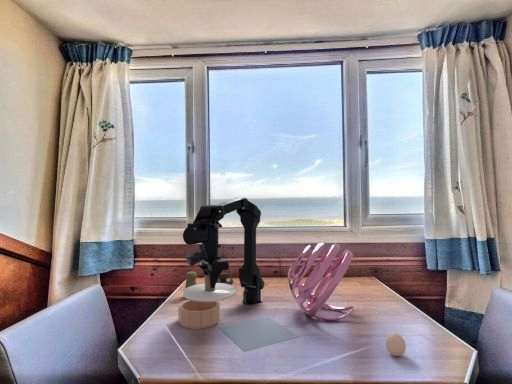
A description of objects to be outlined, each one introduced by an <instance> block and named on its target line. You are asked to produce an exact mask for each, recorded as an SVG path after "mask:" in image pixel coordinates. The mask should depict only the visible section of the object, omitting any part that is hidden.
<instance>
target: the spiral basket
mask: <svg viewBox="0 0 512 384" xmlns="http://www.w3.org/2000/svg"><path fill="white" fill-rule="evenodd" d="M325 245H326V242H325V241H320V242H318V243H317V244H316V245H315V246H314V248H313V250H312V251H311V252H310V254H309V255H308V257H307V258H306V260H305V261H304V263H303V264H302V266H301V267H300V269H299V270H298V271H297V273H296V274H295V271H296V269H297V268H298V266H299V265H300V263H301V262H302V261H303V259H304V257H305V255H306V254H307V253H308V251H309V250H310V248H311V247H312V245H311V244H308V245H307V246H305V247H304V249H303V250H302V252H301V253H299V256H298V258H297V259H296V260H295V262H291V264H290V265H289V268H288V273H287V279H288V290H289V293H290V295H291V296H292V299H293V300H294V303H295V304H296V306H297V307H298V308H300V309H301V310H302V311H303V312H304V313H305V314H306V315H308V316H309V317H312V318H315V319H318V320H319V321H320V320H321V321H326V322H335V321H340V320H343V319H346V318H347V317H349V316H350V315H352V314H353V312H354V311H355V309H354V308H355V307H354V306H353V305H352V306H346V307H341V306H340V307H339V306H335V305H331V304H327V303H326V302H327V301H328V300H329V298H331V295H332V294H333V293H334V292H335V290H336V289H337V287H338V285H340V282H341V280H342V279H343V277H344V275H346V272H347V270H348V269H349V267H350V264H351V262H352V259H353V257H354V254H353V253H352V251H350V250H349V249H345V250H344V251H343V252H342V253H341V254H340V255H339V256H338V258H336V256H337V254H338V252H339V250H340V248H341V246H340V244H338V243H335V242H334V243H332V244H331V245H330V246H329V247H328V248H327V250H326V251H325V253H323V255H322V256H321V258H320V259H319V260H318V262H317V263H316V265H315V266H314V268H313V269H312V271H310V274H309V275H308V276H307V278H306V280H305V281H304V282H303V284H301V281H302V280H303V278H304V277H305V276H306V274H307V273H308V271H309V270H310V269H311V267H312V265H313V264H314V262H315V261H316V259H317V257H319V254H320V253H321V252H322V250H323V248H324V247H325ZM335 258H336V260H335V261H334V259H335ZM333 261H334V263H333ZM332 263H333V264H332ZM330 266H331V267H330ZM329 267H330V268H329ZM328 269H329V270H328ZM291 278H292V279H291ZM296 288H297V291H298V293H297V294H296V293H295V289H296ZM315 288H316V289H315ZM314 290H315V291H314ZM306 300H307V304H306V307H305V306H304V305H303V304H304V303H305V301H306ZM322 308H323V309H325V310H328V309H331V310H330V311H334V310H336V311H335V312H343V311H348V312H347V313H345V314H343V315H341V316H337V317H324V316H320V315H318V314H317V313H318V312H319V311H320V310H321V309H322ZM349 310H350V311H349Z"/></svg>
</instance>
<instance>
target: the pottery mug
mask: <svg viewBox="0 0 512 384" xmlns="http://www.w3.org/2000/svg"><path fill="white" fill-rule="evenodd" d="M228 278H230V280H229V281H228ZM217 283H224V284H229V285H232V286H233V284H235V282H234V278H233V275H231V274H230V273H227V272H221V274H220V276H219V278H218V280H217Z"/></svg>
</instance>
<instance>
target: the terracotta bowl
mask: <svg viewBox="0 0 512 384" xmlns="http://www.w3.org/2000/svg"><path fill="white" fill-rule="evenodd" d="M177 307H178V308H177V309H178V310H177V312H178V314H177V315H178V316H177V317H178V318H177V320H178V323H179V325H180V326H181V327H183V328H187V329H191V330H192V329H193V330H197V329H199V330H200V329H206V328H207V329H208V328H210V327H213V326H215V325H217V324H218V323H219V322H220V319H221V301H214V302H198V301H192V300H188V299H186V300H184V301H183V302H180V303H179V305H178V306H177Z"/></svg>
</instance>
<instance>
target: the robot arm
mask: <svg viewBox="0 0 512 384" xmlns="http://www.w3.org/2000/svg"><path fill="white" fill-rule="evenodd" d="M232 212H233V213H234V212H236V214H237V215H238V216H239V218H240V219H239V220H240V223H241V225H242V227H243V230H244V231H243V264H242V266H241V267H239V268H238V276H237V277H238V279H239V280H238V281H239V284H240V287H241V288H243V291H242V295H243V296H242V297H243V298H242V302H243V303H244V304H246V305H248V306H250V305H257V304H262V303H263V300H262V295H261V293H262V291H261V290H263V289H264V288H265V281H264V279H263V278H262V277H261V270H260V268H259V266H258V265H257V227H258V226H259V225H260V222H261V216H262V211H261V209H260V208H259V207H258V206H257V205H256V204H255V203H253V202H252V201H249V199H248V198H247V197H245V196H244V197H234V198H233V199H230V200H226V201H224V202H221V203H218V204H205V205H201V206H200V207H199V210H198V212H197V214H196V216H195V218H194V220H193V222H191V223H187V226H186V227H185V229H184V230H183V233H182V240H183V241H184V243H185V244H186V245H187V246H192V245H197V244H198V245H199V246H198V248H197V249H195V250H193V251H191V252H188V253H186V254H185V255H184V257H185V258H184V259H185V261H186V263H187V265H189V266H191V267H193V266H195V265H196V266H197V267H198V268H199V269H200V270H201V271H202V274H203V277H204V278H203V279H205V275H206V274H209V280H210V287H211V288H214V287H215V285H216V283H217V280H218V278H219V276H220V274H221V273H223V271H229V270H230V263H229V262H228V260H226V259H221V256H220V255H219V250H220V249H219V248H221V244H220V242H219V228H223V224H221V223H220V221H221V220H223V218H225V216H226V215H227V214H230V213H232Z"/></svg>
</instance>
